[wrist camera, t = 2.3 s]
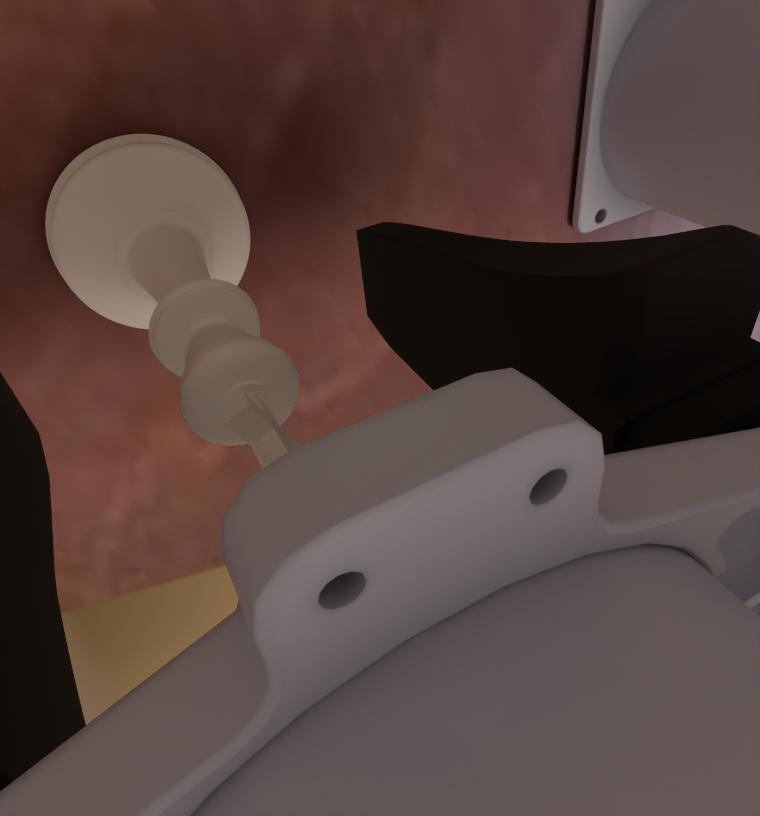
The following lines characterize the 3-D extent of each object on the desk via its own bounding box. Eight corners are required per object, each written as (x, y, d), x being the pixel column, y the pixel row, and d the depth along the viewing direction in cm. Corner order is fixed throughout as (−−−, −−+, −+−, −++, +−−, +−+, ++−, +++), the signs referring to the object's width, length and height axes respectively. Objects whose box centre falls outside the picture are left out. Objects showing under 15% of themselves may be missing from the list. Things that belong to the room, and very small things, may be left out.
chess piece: (146, 353, 17) (252, 632, 10) (-6, 221, 14) (-5, 502, 7) (279, 246, 17) (475, 449, 10) (161, 87, 14) (334, 229, 7)
